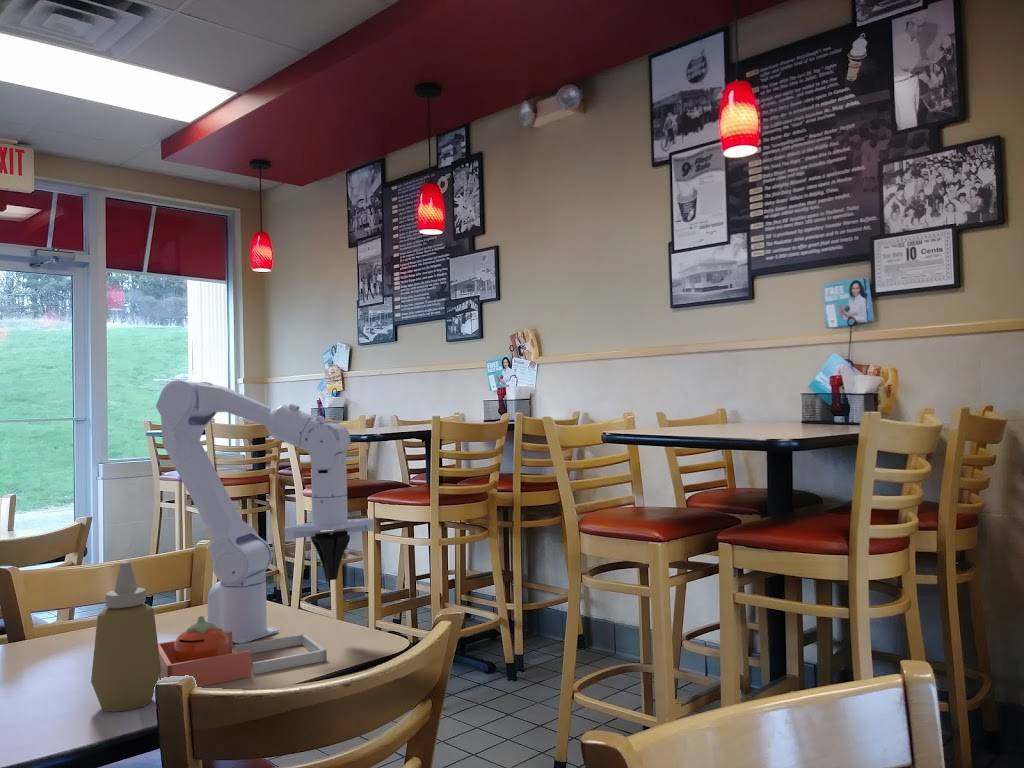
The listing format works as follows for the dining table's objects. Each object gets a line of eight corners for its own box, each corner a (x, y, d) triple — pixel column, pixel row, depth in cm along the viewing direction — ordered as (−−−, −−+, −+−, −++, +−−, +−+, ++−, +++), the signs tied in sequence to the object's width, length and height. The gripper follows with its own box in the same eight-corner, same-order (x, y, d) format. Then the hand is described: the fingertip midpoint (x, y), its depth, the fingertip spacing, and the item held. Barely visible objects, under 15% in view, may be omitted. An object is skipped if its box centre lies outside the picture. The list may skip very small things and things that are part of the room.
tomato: (162, 680, 111) (162, 622, 111) (191, 663, 118) (190, 609, 118) (212, 681, 110) (211, 623, 110) (238, 664, 117) (237, 609, 117)
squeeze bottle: (107, 695, 105) (106, 558, 106) (170, 691, 106) (168, 555, 107) (79, 718, 97) (78, 570, 98) (147, 714, 98) (146, 567, 99)
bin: (231, 654, 122) (231, 631, 122) (251, 676, 111) (250, 651, 111) (154, 667, 117) (154, 643, 117) (167, 692, 106) (167, 665, 106)
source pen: (304, 642, 127) (304, 633, 127) (326, 660, 118) (326, 650, 118) (235, 654, 122) (235, 645, 122) (253, 674, 112) (253, 663, 112)
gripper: (292, 501, 124) (294, 589, 124) (379, 494, 132) (381, 577, 131) (280, 498, 130) (281, 581, 130) (364, 491, 138) (366, 570, 137)
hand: (331, 578), depth 131 cm, fingers closed
